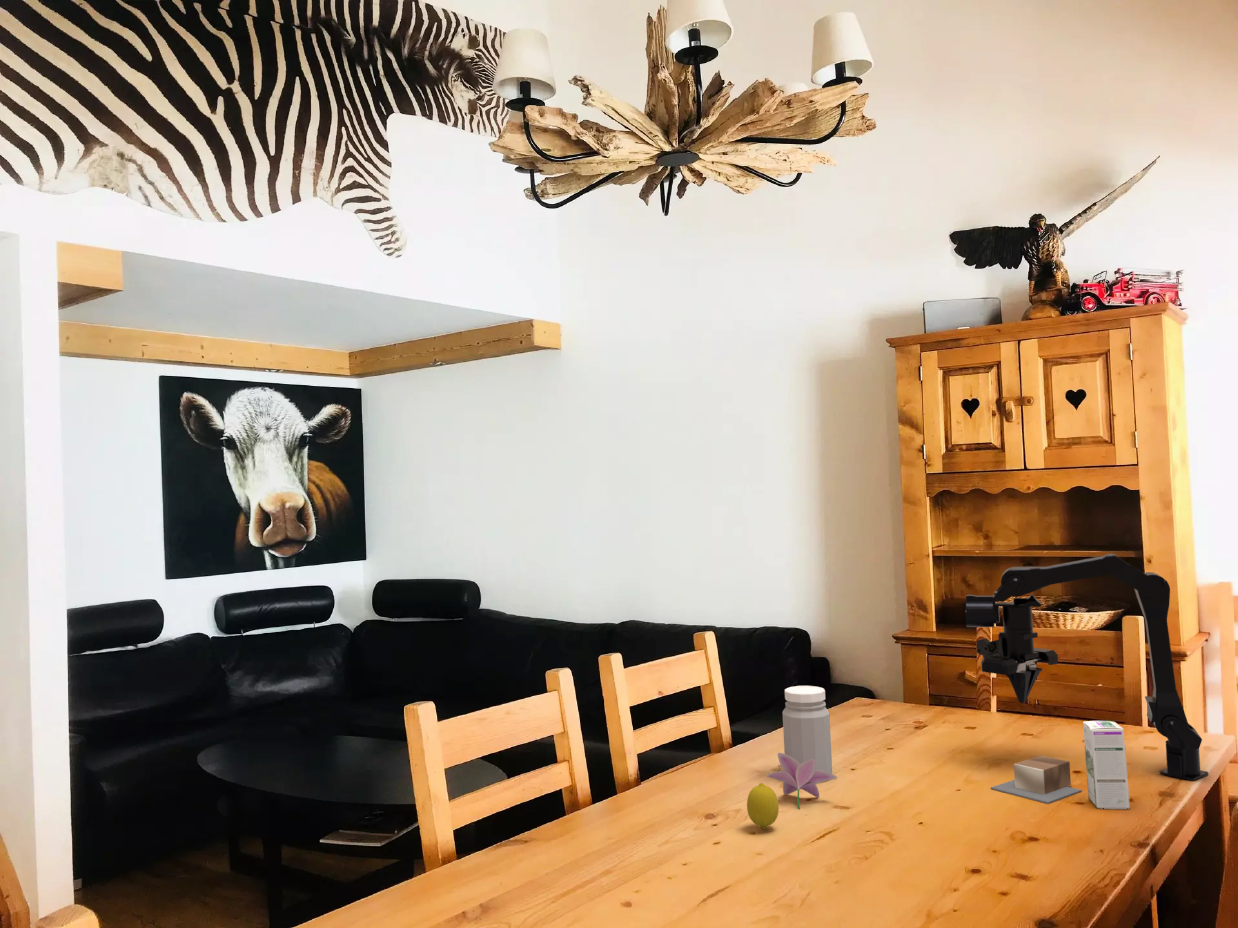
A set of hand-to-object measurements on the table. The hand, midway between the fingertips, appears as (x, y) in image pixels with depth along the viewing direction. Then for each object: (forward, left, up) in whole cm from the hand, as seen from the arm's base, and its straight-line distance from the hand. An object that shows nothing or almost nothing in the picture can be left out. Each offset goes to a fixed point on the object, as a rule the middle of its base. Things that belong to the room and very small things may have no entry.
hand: (1022, 702), depth 202 cm
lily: (+51, -13, -13) cm, 55 cm away
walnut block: (+7, +11, -10) cm, 17 cm away
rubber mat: (+13, +11, -13) cm, 22 cm away
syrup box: (+11, +24, -13) cm, 30 cm away
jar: (+39, -24, -13) cm, 48 cm away
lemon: (+67, -7, -13) cm, 69 cm away
